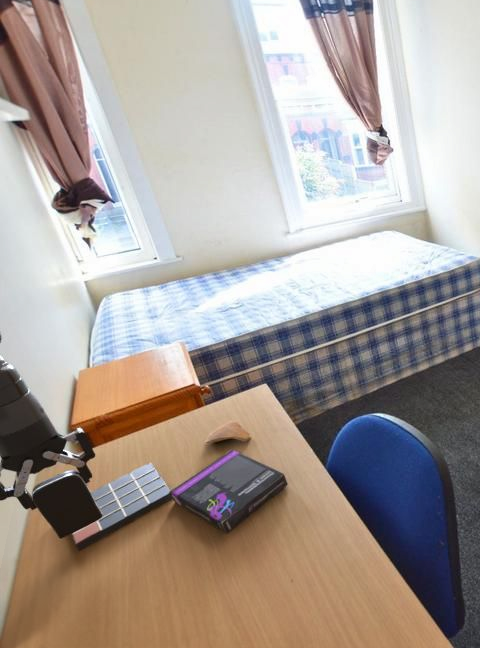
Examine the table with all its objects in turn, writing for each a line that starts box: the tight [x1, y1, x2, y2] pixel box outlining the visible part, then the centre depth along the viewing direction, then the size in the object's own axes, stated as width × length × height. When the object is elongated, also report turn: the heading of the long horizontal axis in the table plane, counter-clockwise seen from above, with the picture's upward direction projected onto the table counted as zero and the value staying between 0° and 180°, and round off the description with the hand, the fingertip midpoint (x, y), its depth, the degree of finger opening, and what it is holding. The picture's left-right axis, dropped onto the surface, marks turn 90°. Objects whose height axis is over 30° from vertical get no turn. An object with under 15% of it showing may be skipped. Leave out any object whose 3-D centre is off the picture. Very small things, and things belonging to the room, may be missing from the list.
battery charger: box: [31, 469, 103, 540], centre depth 88 cm, size 7×4×11 cm, turn 136°
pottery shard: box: [205, 420, 252, 445], centre depth 117 cm, size 10×9×2 cm
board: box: [71, 462, 173, 551], centre depth 99 cm, size 16×16×2 cm
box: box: [169, 449, 288, 534], centre depth 98 cm, size 14×4×20 cm
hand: (61, 493), depth 87 cm, fingers closed on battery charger, 7 cm apart
